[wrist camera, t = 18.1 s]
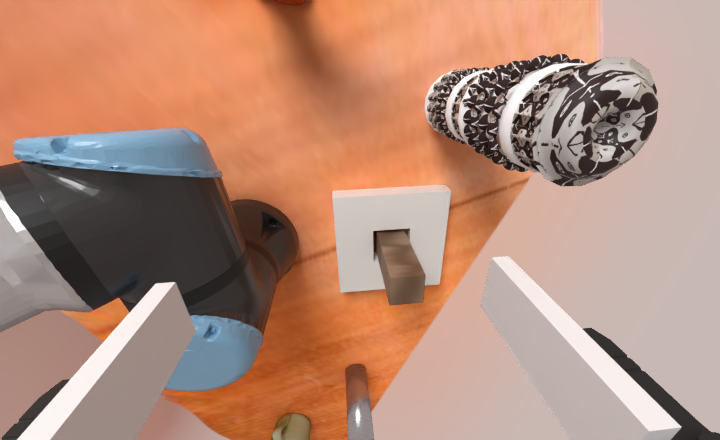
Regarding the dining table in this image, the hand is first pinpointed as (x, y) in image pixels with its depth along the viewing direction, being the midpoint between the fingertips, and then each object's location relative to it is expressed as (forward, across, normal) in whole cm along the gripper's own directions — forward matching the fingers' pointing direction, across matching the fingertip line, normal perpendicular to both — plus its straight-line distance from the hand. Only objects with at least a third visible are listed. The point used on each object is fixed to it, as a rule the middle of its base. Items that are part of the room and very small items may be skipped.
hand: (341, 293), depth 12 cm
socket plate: (+32, +8, -16) cm, 36 cm away
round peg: (+32, +1, -51) cm, 60 cm away
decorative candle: (+32, +17, +5) cm, 36 cm away
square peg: (+32, +8, -16) cm, 36 cm away
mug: (+32, -16, -67) cm, 76 cm away
